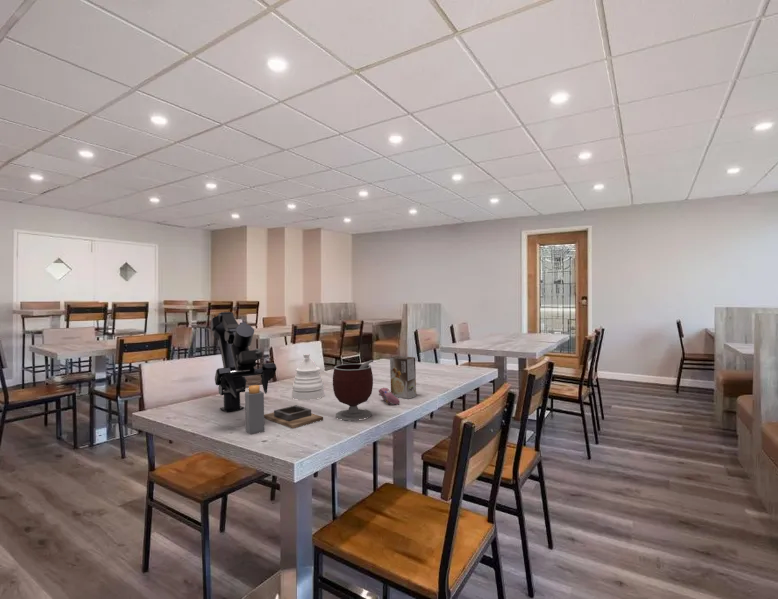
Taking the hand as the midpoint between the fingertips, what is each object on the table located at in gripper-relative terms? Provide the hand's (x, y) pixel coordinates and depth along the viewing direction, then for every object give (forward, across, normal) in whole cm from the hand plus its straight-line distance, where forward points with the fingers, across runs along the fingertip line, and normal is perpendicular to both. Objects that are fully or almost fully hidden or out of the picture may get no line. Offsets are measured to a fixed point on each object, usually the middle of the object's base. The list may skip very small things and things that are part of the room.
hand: (251, 395), depth 129 cm
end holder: (+6, +14, +9) cm, 18 cm away
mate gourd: (+13, +33, +2) cm, 36 cm away
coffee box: (+4, +63, +11) cm, 64 cm away
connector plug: (+10, 0, +5) cm, 11 cm away
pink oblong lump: (+7, +52, +8) cm, 53 cm away
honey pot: (-13, +31, +28) cm, 43 cm away
